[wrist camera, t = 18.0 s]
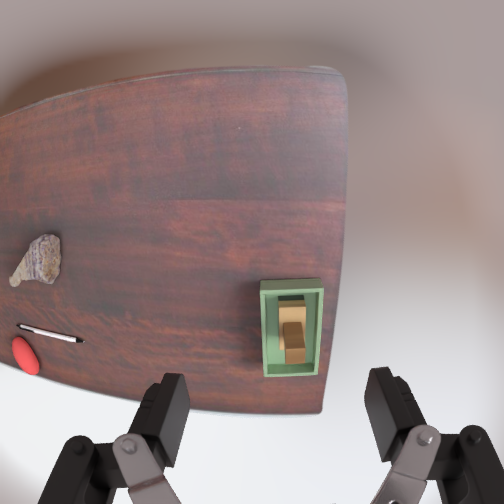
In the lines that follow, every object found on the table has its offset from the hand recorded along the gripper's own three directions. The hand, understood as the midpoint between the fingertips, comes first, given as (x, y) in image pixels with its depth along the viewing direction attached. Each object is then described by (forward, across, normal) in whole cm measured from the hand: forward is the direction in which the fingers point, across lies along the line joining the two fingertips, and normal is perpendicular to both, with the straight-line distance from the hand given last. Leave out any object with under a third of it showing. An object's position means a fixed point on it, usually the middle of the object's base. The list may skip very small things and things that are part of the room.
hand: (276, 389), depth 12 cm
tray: (+30, -2, +16) cm, 34 cm away
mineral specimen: (+30, +38, +4) cm, 49 cm away
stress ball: (+30, +53, +26) cm, 66 cm away
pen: (+30, +44, +19) cm, 57 cm away
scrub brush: (+29, -2, +14) cm, 33 cm away
